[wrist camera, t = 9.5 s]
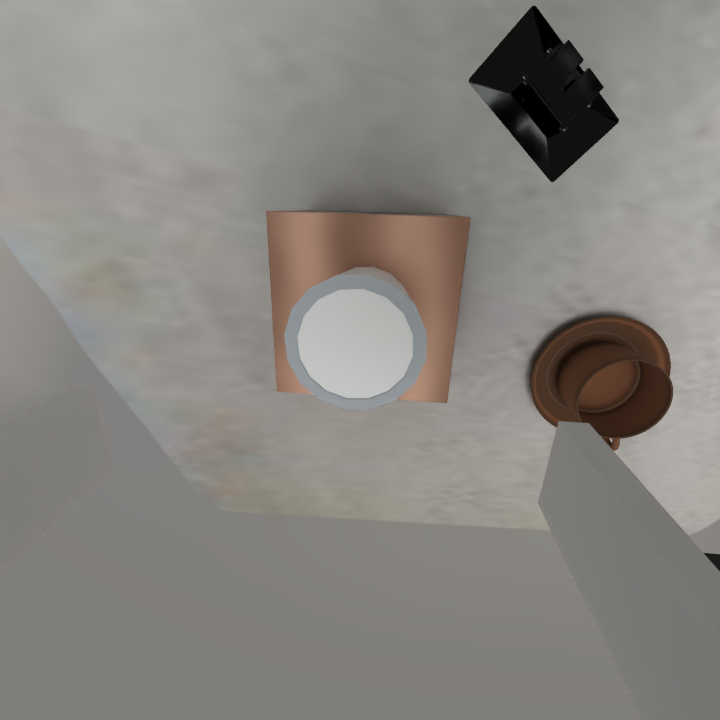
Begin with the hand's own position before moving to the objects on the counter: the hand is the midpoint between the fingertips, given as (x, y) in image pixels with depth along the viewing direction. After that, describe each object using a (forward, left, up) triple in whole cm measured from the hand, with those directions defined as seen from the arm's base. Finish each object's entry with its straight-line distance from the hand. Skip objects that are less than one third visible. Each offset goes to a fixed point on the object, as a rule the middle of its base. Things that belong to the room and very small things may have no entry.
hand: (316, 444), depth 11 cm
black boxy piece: (-13, -14, -28) cm, 34 cm away
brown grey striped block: (0, 0, -27) cm, 27 cm away
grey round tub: (0, 0, -15) cm, 15 cm away
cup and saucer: (-21, +8, -27) cm, 35 cm away
